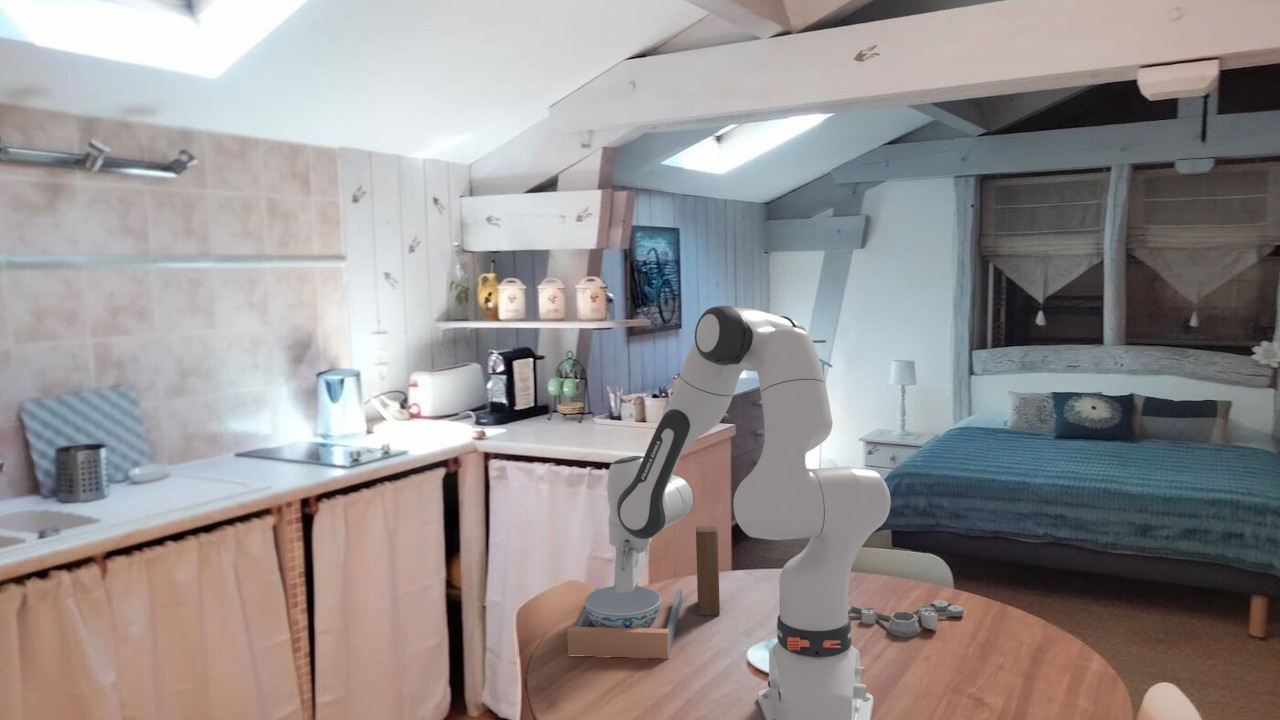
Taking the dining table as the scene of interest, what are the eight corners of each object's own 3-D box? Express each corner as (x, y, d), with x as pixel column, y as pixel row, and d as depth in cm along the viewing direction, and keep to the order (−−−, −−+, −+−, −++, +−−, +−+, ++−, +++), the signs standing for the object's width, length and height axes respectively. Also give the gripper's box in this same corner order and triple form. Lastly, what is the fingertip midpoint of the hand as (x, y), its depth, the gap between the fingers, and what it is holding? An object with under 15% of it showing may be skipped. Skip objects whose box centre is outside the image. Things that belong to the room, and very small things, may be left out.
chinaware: (575, 630, 184) (573, 593, 183) (641, 615, 190) (640, 580, 189) (604, 659, 170) (603, 619, 169) (675, 642, 177) (674, 604, 176)
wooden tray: (668, 659, 169) (667, 633, 169) (568, 656, 172) (567, 630, 171) (682, 602, 198) (681, 580, 197) (596, 601, 200) (595, 579, 200)
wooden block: (698, 600, 199) (696, 520, 197) (719, 600, 198) (717, 519, 197) (698, 616, 190) (695, 531, 188) (719, 616, 189) (717, 531, 188)
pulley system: (979, 641, 175) (957, 608, 190) (979, 618, 174) (957, 587, 189) (835, 647, 177) (825, 614, 192) (834, 624, 176) (824, 592, 191)
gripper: (638, 549, 177) (640, 618, 179) (651, 520, 197) (653, 582, 199) (606, 549, 178) (608, 617, 179) (622, 520, 198) (624, 582, 200)
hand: (632, 598), depth 189 cm, fingers closed
